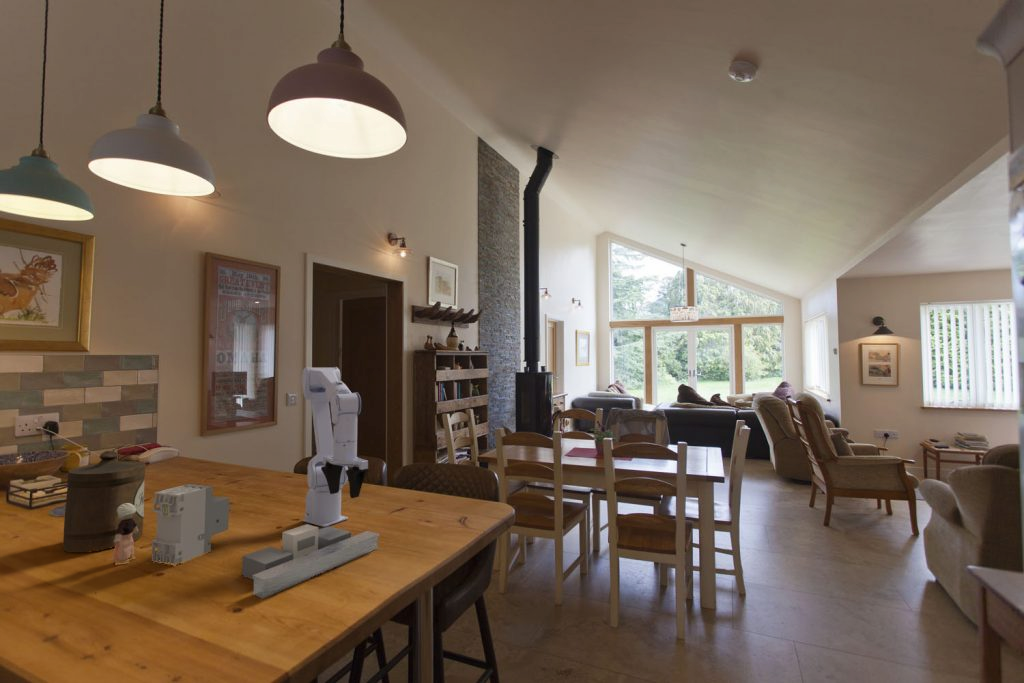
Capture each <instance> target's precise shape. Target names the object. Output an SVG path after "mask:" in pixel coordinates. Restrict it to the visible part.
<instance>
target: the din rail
mask: <svg viewBox="0 0 1024 683" xmlns="http://www.w3.org/2000/svg"><path fill="white" fill-rule="evenodd" d="M378 537H380V533H377V532H373V531H369V530H366V531H363V532H361V533H358V534H355V535H353V536H351V537H350V538H348V539H345V540H342V541H340V542H337V543H335V544H332V545H329V546H327V547H324V548H322V549H319V550H317V551H314V552H311V553H309V554H306V555H304V556H301V557H298V558H296V559H293V560H291V561H288V562H286V563H283V564H280V565H278V566H275V567H273V568H270V569H267V570H265V571H262V572H260V573H257V574H254V575H252V578H254V580H253V594H254V595H253V596H255V595H256V596H255V597H257V596H258V597H257V598H259V597H260V598H259V599H262V600H264V599H265V598H268V597H270V596H273V595H275V594H277V593H279V592H282V591H284V590H286V588H287V589H289V588H291V587H294V586H296V585H298V584H300V583H303V582H305V581H307V580H309V579H312V578H313V576H314V577H316V576H319V575H321V574H323V573H325V572H328V571H330V570H332V569H335V568H337V567H339V566H341V565H343V564H346V563H348V562H349V561H352V560H355V559H358V558H359V557H362V556H364V555H366V554H368V553H370V552H373V551H375V550H378ZM334 567H335V568H334ZM327 570H328V571H327ZM322 572H323V573H322ZM320 573H321V574H320ZM318 574H319V575H318ZM315 575H316V576H315ZM311 577H312V578H311ZM302 581H303V582H302Z"/></svg>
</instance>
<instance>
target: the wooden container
mask: <svg viewBox="0 0 1024 683" xmlns="http://www.w3.org/2000/svg"><path fill="white" fill-rule="evenodd" d="M118 457H119V455H118V453H117V452H116V451H115V450H105V451H104V452H102V453H101V454H99V458H100V459H101V460H100V461H99V462H98V463H95V464H88V465H83V466H79V467H78V466H77V467H74V468H72V469H70V470H68V474H67V487H66V498H65V509H64V520H63V521H64V522H63V539H62V541H63V542H62V543H63V544H62V550H63V551H64V552H67V553H71V552H87V553H90V552H89V551H96V552H98V551H97V550H102V549H107V548H110V547H115V545H116V543H114V540H115V536H116V531H117V529H118V525H119V523H120V522H121V521H122V520H120V519H119V518H118V512H117V509H118V507H119V506H120V505H122V504H125V503H130V504H132V505H134V506H135V508H136V512H135V513H134V514H133V515H132V517H131V518H133V520H134V521H135V523H136V524H137V529H138V532H137V533H132V538H133V542H135V541H137V540H139V539H140V538H141V537H143V530H144V529H143V528H144V512H145V476H146V462H144V461H136V460H135V461H134V460H133V461H132V460H129V461H128V460H127V461H119V459H117V458H118ZM138 538H139V539H138ZM134 540H135V541H134ZM107 550H108V549H107ZM102 551H103V550H102Z"/></svg>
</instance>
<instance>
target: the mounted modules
mask: <svg viewBox="0 0 1024 683" xmlns="http://www.w3.org/2000/svg"><path fill="white" fill-rule="evenodd" d="M350 537H352V531H348V530H345V529H342V528H337V527H333V526H331V525H329V526H326V527H322V528H320V529H319V528H318V550H319V549H322V548H324V547H327V546H329V545H332V544H335V543H337V542H340V541H342V540H345V539H348V538H350ZM241 560H242V561H241V564H242V565H241V576H242V575H244V576H246V577H248V578H247V579H249V578H250V579H249V580H251V579H252V581H254V578H252V575H254V574H257V573H260V572H262V571H265V570H267V569H270V568H273V567H275V566H278V565H280V564H283V563H286V562H288V561H291V560H293V554H292V553H289V552H286V551H283V550H282V549H279V548H276V547H273V546H271V545H270V546H267V547H264V548H261V549H258V550H256V551H252V552H250V553H247V554H244V555H242V558H241ZM244 576H243V577H244ZM246 577H245V578H246Z"/></svg>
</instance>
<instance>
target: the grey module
mask: <svg viewBox="0 0 1024 683" xmlns="http://www.w3.org/2000/svg"><path fill="white" fill-rule="evenodd" d="M318 530H319V527H318V526H316V525H315V526H314V525H311V524H309V523H306V524H304V525H300V526H297V527H294V528H291V529H287V530H285V531H282V537H281V539H282V540H281V550H283V551H286V552H289V553H292V554H293V559H296V558H298V557H301V556H304V555H306V554H309V553H311V552H314V551H317V550H318Z"/></svg>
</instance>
